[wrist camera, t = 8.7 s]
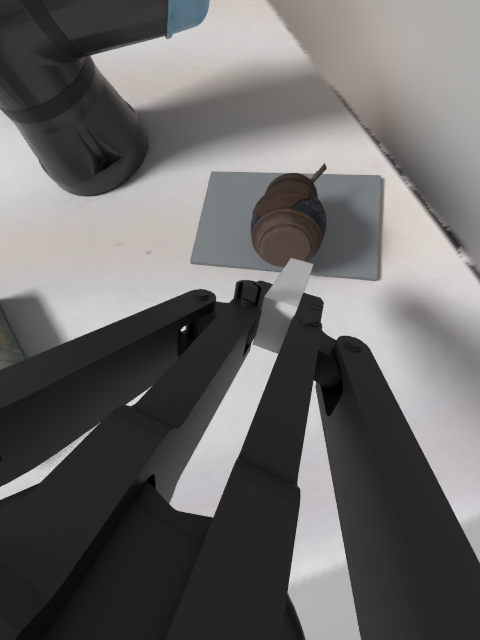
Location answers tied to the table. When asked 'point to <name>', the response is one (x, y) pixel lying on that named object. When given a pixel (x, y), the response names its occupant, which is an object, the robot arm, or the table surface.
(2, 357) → the beverage carton
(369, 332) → the table surface
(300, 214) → the mate gourd
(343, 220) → the mat
